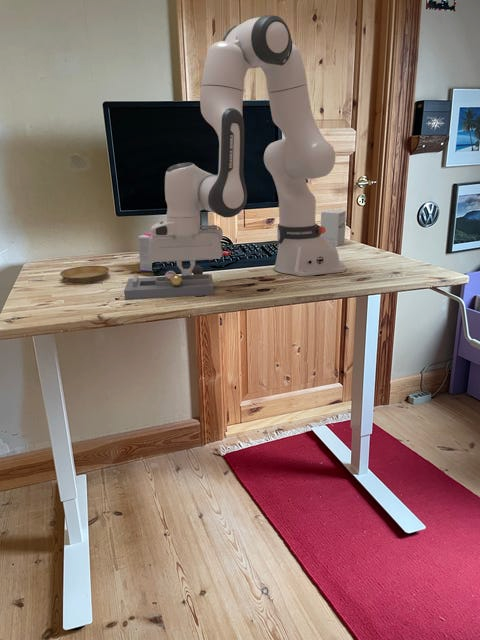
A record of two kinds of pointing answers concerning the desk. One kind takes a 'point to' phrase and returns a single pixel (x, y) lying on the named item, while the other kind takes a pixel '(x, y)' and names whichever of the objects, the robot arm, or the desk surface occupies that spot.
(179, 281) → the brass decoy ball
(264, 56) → the robot arm
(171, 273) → the steel ball
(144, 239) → the supplement box
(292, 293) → the desk surface
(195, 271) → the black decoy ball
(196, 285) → the board
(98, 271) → the plant saucer
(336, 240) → the supplement box
